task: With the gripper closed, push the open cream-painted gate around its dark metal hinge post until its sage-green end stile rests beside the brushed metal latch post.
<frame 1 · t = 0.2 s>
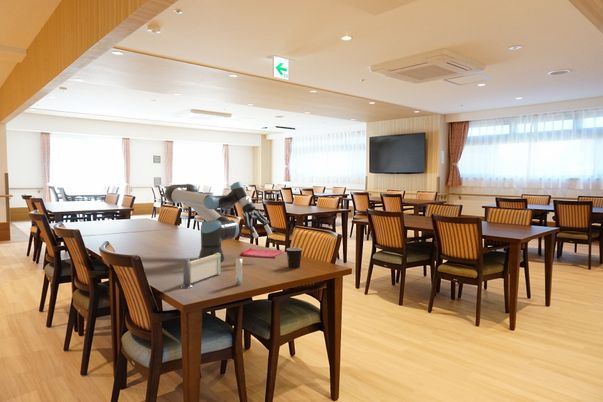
hand: (264, 236, 231), 15 cm above the table, tool tilted 35°, fingers open, 13 cm apart
dish towel: (261, 255, 253), on the table
gate: (202, 267, 191), point 7 cm above the table, hinge at 50.0°
coffee mug: (294, 266, 221), on the table
gate posts: (186, 286, 181), on the table
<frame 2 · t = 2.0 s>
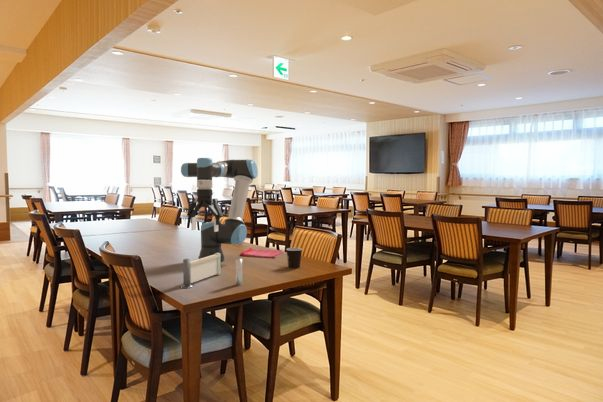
hand: (204, 230, 200), 23 cm above the table, tool pointing down, fingers open, 13 cm apart
nothing on the table moved.
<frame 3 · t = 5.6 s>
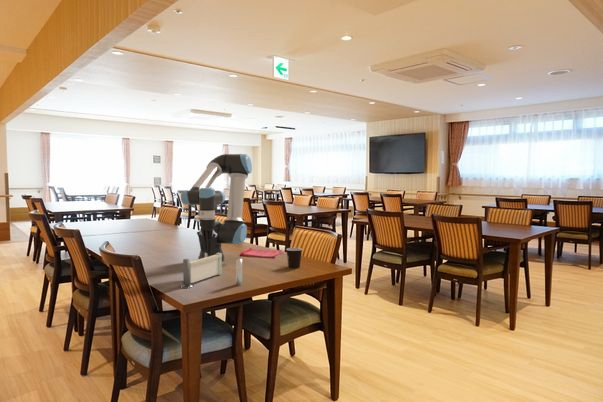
hand: (207, 265, 199), 6 cm above the table, tool pointing down, fingers closed
gate: (203, 267, 191), point 7 cm above the table, hinge at 48.0°, touching gripper
everything else where it was.
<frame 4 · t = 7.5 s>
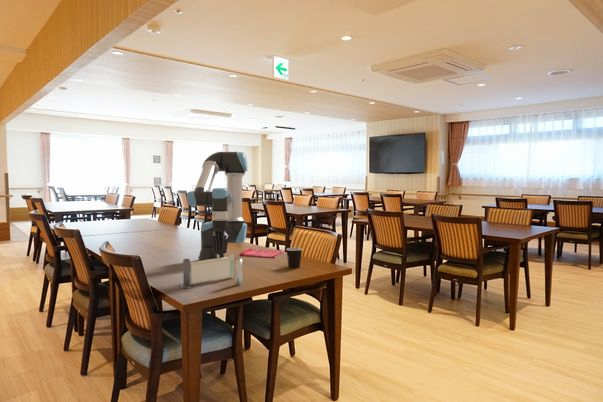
hand: (220, 267, 196), 6 cm above the table, tool pointing down, fingers closed
gate: (209, 268, 188), point 7 cm above the table, hinge at 24.1°, touching gripper
everything else where it was.
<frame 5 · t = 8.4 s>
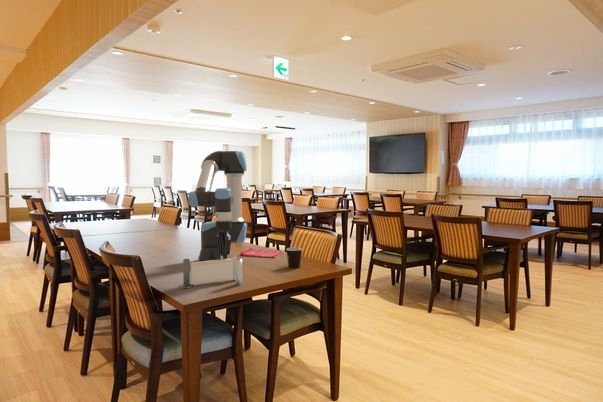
hand: (224, 268, 193), 6 cm above the table, tool pointing down, fingers closed
gate: (211, 269, 186), point 7 cm above the table, hinge at 13.0°, touching gripper
everything else where it was.
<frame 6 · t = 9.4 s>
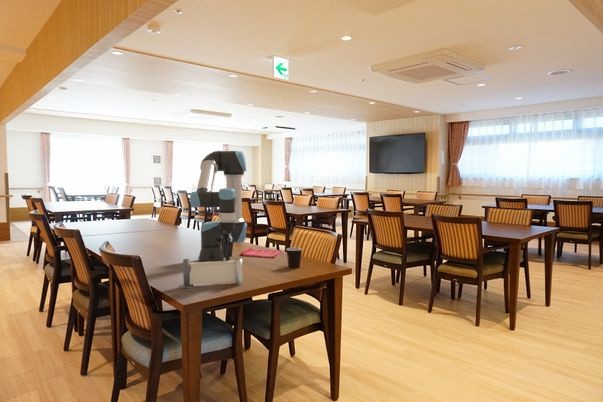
hand: (226, 270, 189), 6 cm above the table, tool pointing down, fingers closed
gate: (211, 270, 184), point 7 cm above the table, hinge at -0.4°, touching gripper
everything else where it was.
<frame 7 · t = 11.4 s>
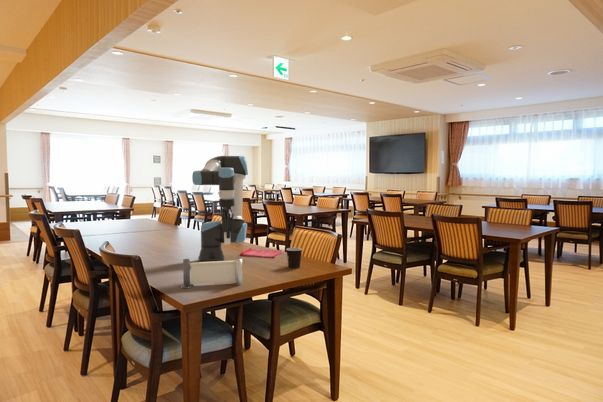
hand: (227, 244, 202), 16 cm above the table, tool pointing down, fingers closed
gate: (211, 270, 184), point 7 cm above the table, hinge at -0.4°
everything else where it was.
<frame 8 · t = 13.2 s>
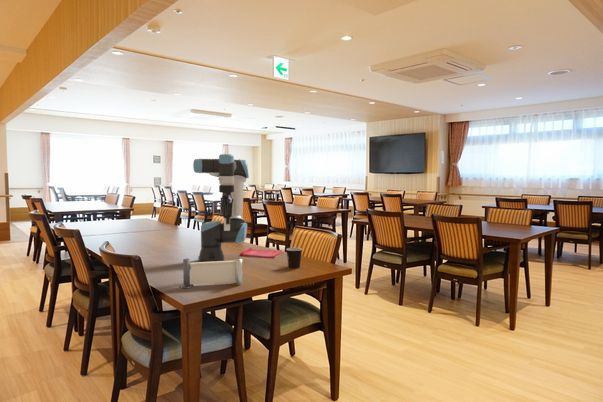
hand: (227, 230, 204), 22 cm above the table, tool pointing down, fingers closed
nothing on the table moved.
at the end: gate at +0° (first picture: +50°) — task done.
